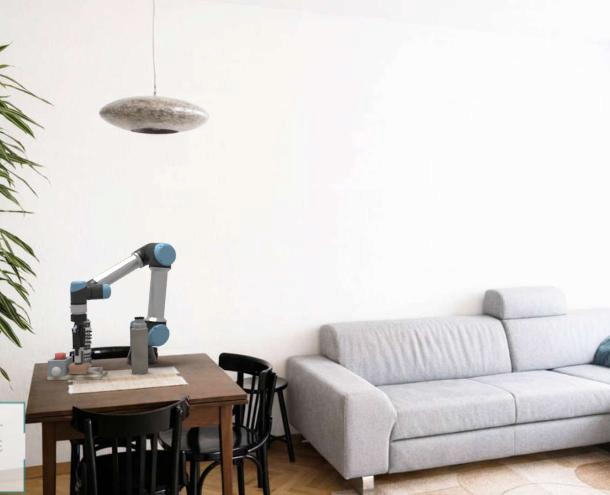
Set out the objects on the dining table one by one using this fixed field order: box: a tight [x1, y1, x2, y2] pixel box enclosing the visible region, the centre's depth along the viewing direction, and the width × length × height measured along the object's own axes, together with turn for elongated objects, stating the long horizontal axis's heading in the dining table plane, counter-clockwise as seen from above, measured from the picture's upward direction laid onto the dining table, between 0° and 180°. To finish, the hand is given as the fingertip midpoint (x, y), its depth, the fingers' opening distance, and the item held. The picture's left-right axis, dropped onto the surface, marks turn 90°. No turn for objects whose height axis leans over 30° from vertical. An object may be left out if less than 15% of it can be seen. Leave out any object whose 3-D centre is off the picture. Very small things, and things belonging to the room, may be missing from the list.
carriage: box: [68, 351, 91, 374], centre depth 314 cm, size 8×7×10 cm
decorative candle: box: [73, 317, 93, 367], centre depth 341 cm, size 9×9×25 cm
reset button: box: [54, 352, 67, 360], centre depth 314 cm, size 5×5×3 cm
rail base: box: [46, 366, 109, 381], centre depth 314 cm, size 25×12×4 cm, turn 90°
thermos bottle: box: [130, 316, 149, 375], centre depth 323 cm, size 8×8×28 cm
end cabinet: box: [47, 356, 74, 377], centre depth 314 cm, size 8×11×9 cm
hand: (79, 361), depth 314 cm, fingers closed on carriage, 3 cm apart
